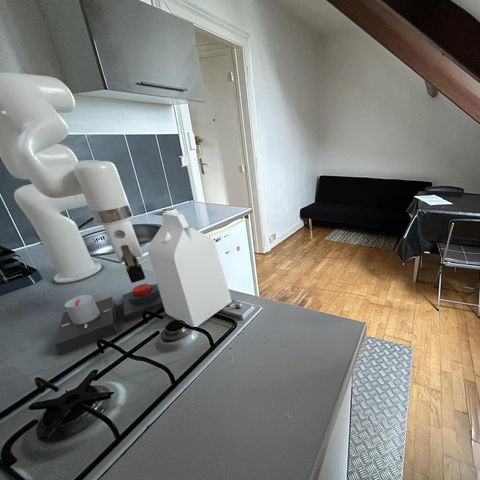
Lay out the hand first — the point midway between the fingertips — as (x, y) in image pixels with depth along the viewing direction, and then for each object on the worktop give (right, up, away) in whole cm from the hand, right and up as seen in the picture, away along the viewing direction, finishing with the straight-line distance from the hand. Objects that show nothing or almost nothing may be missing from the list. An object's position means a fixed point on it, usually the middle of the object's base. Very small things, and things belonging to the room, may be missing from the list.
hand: (138, 279), depth 70 cm
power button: (0, -4, +2) cm, 4 cm away
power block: (0, -7, +3) cm, 7 cm away
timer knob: (-8, -8, -7) cm, 13 cm away
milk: (+17, -7, -1) cm, 18 cm away
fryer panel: (-7, -11, -6) cm, 14 cm away
